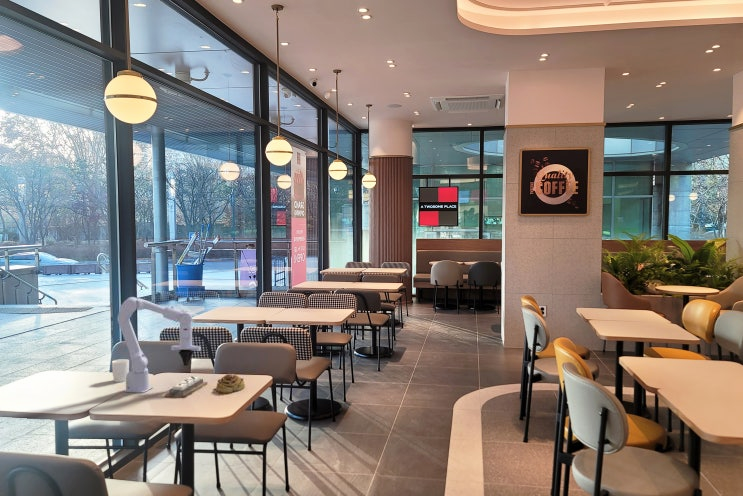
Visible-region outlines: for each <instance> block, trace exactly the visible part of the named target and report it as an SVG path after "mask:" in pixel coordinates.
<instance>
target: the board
mask: <svg viewBox="0 0 743 496" xmlns="http://www.w3.org/2000/svg"><path fill="white" fill-rule="evenodd" d="M207 385H208V382H207V381H206V382H205V381H204V379H203V378H200V380H199V381H197V382H196V383H194V384H192V385H190V386H187V388H185V389H183V390H173V387H172V388H170V389H169V390H168V392H166V393H165V394H164V397H165V398H184V399H185V398H187V397H189V396H190V395H192V394H194V393H195V392H197V391H199V390H200V389H202V388H204V387H206V386H207ZM203 386H204V387H203Z"/></svg>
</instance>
